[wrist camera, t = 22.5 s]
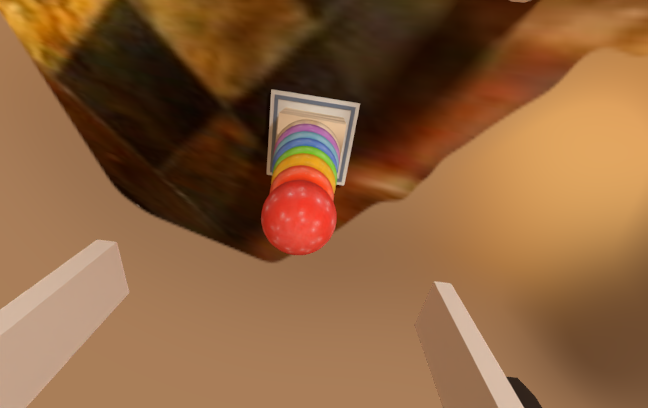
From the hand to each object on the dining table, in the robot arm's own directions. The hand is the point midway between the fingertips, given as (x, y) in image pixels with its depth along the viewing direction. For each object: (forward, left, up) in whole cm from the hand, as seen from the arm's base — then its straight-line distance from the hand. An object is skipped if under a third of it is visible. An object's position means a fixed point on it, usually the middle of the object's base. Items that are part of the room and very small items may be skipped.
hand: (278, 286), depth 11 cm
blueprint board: (0, 0, -30) cm, 30 cm away
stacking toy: (0, 0, -24) cm, 24 cm away
